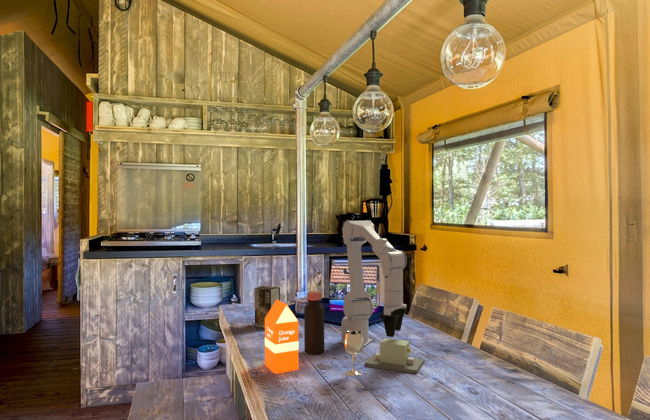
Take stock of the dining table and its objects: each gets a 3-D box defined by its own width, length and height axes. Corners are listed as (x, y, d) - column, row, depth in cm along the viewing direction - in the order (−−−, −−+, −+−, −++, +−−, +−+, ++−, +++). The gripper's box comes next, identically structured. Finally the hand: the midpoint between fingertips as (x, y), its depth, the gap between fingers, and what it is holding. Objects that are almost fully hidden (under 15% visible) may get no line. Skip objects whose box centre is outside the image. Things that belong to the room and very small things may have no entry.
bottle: (327, 350, 151) (327, 291, 151) (319, 356, 144) (318, 295, 144) (310, 347, 153) (309, 290, 153) (300, 353, 147) (300, 293, 147)
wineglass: (365, 371, 131) (365, 330, 131) (360, 378, 126) (360, 335, 126) (346, 368, 133) (346, 329, 133) (341, 375, 127) (341, 334, 127)
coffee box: (281, 326, 182) (281, 287, 182) (271, 329, 177) (271, 289, 177) (264, 323, 187) (264, 285, 187) (253, 326, 182) (253, 287, 182)
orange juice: (274, 374, 129) (274, 305, 129) (264, 364, 137) (264, 300, 137) (299, 369, 133) (298, 303, 133) (287, 360, 140) (287, 297, 140)
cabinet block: (380, 362, 136) (379, 342, 136) (384, 357, 140) (384, 338, 140) (409, 366, 132) (408, 346, 132) (412, 360, 137) (412, 341, 137)
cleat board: (364, 365, 135) (364, 357, 135) (374, 356, 144) (374, 348, 144) (416, 373, 129) (416, 365, 129) (423, 362, 138) (423, 354, 138)
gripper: (400, 295, 129) (400, 341, 129) (411, 286, 143) (411, 328, 143) (377, 293, 132) (377, 338, 132) (390, 285, 146) (390, 326, 146)
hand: (393, 333), depth 138 cm, fingers open, 7 cm apart
